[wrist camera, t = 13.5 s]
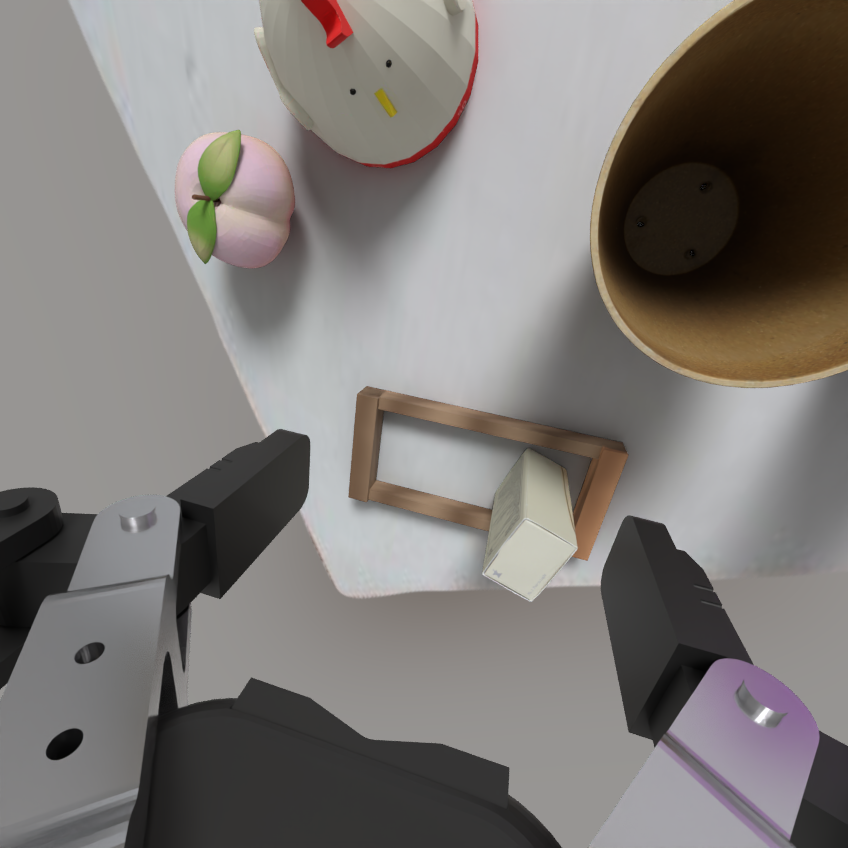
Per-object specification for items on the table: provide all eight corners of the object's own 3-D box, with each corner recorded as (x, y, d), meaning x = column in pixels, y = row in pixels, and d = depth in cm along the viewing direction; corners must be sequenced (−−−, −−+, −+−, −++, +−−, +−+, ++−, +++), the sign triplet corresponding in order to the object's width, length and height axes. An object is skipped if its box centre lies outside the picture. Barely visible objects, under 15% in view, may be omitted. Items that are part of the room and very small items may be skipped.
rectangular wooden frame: (622, 442, 38) (628, 455, 35) (584, 544, 42) (587, 560, 40) (366, 386, 41) (357, 394, 39) (357, 485, 46) (348, 497, 44)
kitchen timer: (353, 202, 35) (242, 174, 22) (264, 21, 32) (68, -144, 19) (510, 98, 30) (492, -21, 17) (424, -130, 27) (316, -507, 13)
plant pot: (589, 98, 29) (643, -46, 15) (838, 101, 26) (1202, -74, 12) (549, 318, 35) (560, 367, 21) (749, 339, 32) (923, 412, 18)
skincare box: (531, 513, 42) (531, 606, 31) (492, 491, 42) (478, 576, 32) (568, 466, 40) (582, 550, 29) (526, 443, 40) (524, 517, 29)
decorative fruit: (238, 129, 35) (138, 89, 26) (327, 165, 35) (255, 136, 26) (223, 245, 39) (132, 244, 30) (303, 279, 39) (233, 288, 30)
